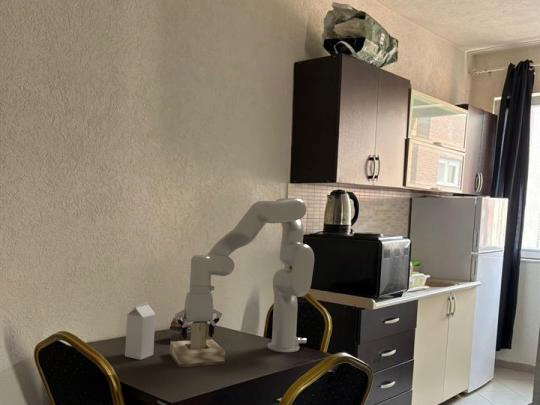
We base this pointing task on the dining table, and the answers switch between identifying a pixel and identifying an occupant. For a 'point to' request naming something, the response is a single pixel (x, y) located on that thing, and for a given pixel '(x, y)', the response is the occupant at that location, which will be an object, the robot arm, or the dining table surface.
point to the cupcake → (179, 330)
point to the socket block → (196, 354)
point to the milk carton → (140, 332)
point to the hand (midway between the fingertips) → (197, 337)
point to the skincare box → (198, 335)
